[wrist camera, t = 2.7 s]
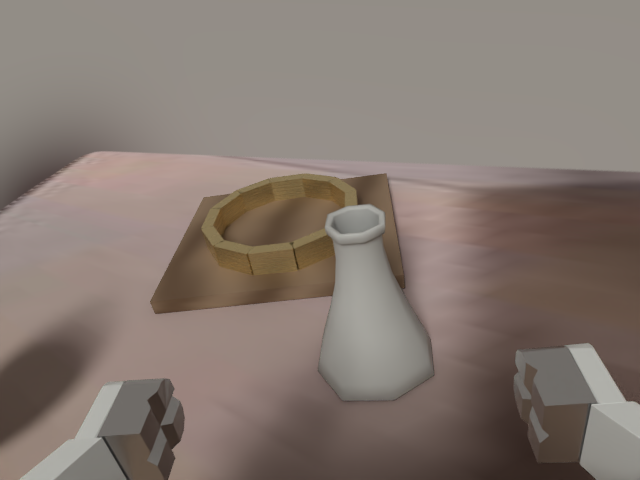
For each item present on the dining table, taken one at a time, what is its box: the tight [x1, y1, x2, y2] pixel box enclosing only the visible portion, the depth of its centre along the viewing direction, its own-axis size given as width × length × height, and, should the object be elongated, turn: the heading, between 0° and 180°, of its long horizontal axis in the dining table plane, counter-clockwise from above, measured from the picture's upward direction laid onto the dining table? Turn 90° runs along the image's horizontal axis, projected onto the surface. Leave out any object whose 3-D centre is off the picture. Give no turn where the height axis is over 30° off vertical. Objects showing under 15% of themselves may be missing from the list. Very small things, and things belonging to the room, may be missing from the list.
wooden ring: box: [201, 174, 358, 276], centre depth 43 cm, size 13×13×2 cm
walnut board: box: [150, 173, 405, 314], centre depth 44 cm, size 19×17×1 cm
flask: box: [318, 204, 434, 401], centre depth 28 cm, size 7×7×10 cm
